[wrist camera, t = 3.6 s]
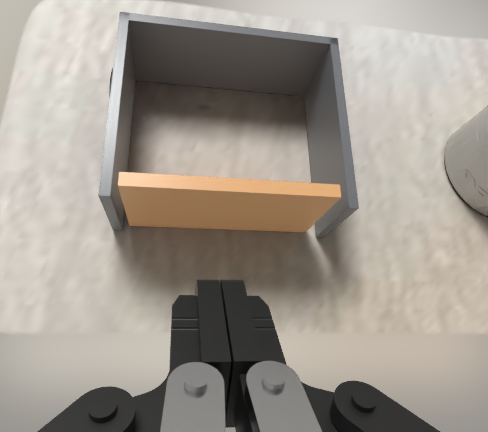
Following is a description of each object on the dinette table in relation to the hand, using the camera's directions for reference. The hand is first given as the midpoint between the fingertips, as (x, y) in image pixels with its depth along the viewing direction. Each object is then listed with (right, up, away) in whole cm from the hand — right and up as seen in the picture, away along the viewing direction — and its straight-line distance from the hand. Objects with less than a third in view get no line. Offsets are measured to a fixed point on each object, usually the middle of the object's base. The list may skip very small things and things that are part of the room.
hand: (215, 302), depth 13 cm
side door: (-1, +2, +15) cm, 16 cm away
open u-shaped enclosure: (-1, +8, +18) cm, 19 cm away
